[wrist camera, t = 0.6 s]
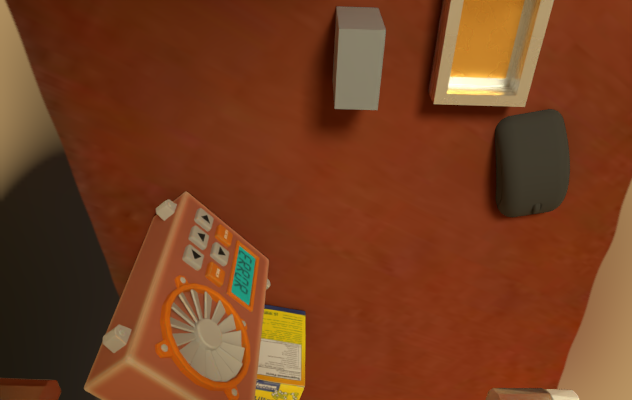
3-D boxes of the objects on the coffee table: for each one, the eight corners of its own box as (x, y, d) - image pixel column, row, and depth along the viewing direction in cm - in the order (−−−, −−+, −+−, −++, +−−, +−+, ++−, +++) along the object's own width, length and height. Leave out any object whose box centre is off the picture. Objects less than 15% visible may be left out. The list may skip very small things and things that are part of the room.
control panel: (181, 177, 55) (282, 262, 61) (137, 214, 57) (238, 292, 64) (118, 345, 37) (269, 439, 44) (59, 386, 40) (209, 470, 46)
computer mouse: (495, 211, 58) (505, 235, 54) (493, 117, 51) (505, 137, 48) (556, 202, 57) (570, 225, 54) (562, 105, 51) (579, 124, 47)
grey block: (336, 6, 45) (339, 28, 40) (378, 7, 45) (385, 30, 40) (332, 80, 49) (334, 108, 44) (371, 81, 49) (377, 110, 44)
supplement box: (249, 334, 68) (239, 412, 59) (258, 301, 65) (249, 378, 56) (295, 342, 69) (292, 420, 60) (306, 310, 66) (305, 387, 57)
